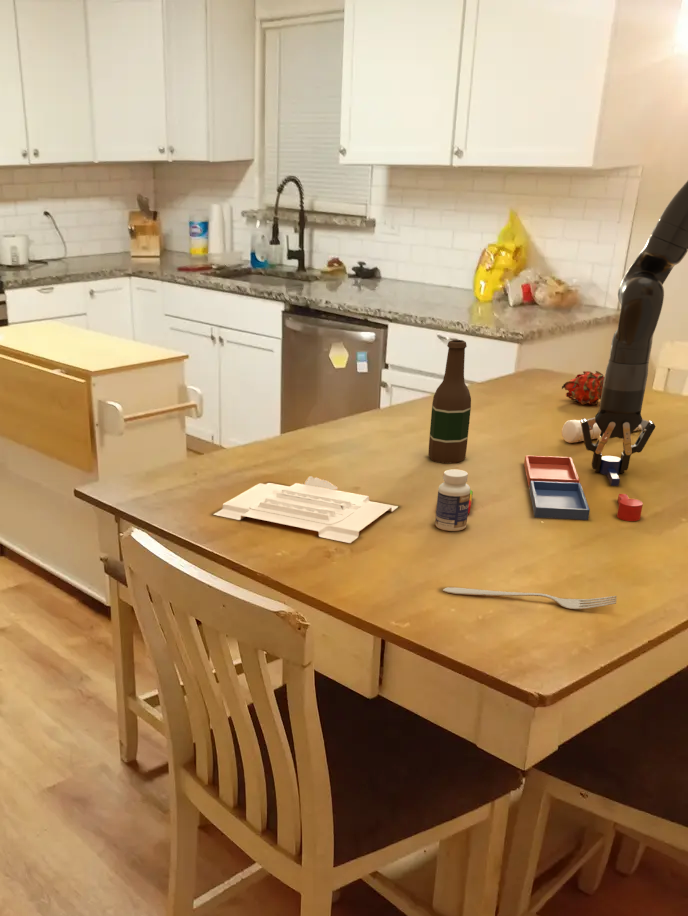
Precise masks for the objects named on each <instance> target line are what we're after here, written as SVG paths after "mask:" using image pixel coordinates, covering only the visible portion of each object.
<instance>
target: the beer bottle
mask: <svg viewBox="0 0 688 916" xmlns="http://www.w3.org/2000/svg"><path fill="white" fill-rule="evenodd" d="M446 347H447V348H448V350H447V356H446V364H445V370H444V375H443V379H442V382H441V383H440V384H439V386H438V387H437V388H436V390H435V392H434V393H433V398H432V403H431V414H430V415H431V416H430V427H429V437H428V438H429V439H428V457H429V458H430V460H431V461H432V462H436V463H440V464H457V463H460V462H462V461H464V460H466V455H467V448H468V441H469V431H470V430H469V429H470V419H471V409H472V396H471V393H470V389H469V387H468V386H467V384H466V382H465V381H466V380H465V359H466V358H465V354H466V348H467V347H468V345H467V342H466V341H465V340H463V339H452V340H449V341H448V343H447V345H446Z"/></svg>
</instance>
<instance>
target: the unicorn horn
mask: <svg viewBox="0 0 688 916" xmlns="http://www.w3.org/2000/svg"><path fill="white" fill-rule="evenodd" d="M580 421H581V419H569V420H566V422H565V423H564V424H563V425H562V428H561V437H562V439H563V440H564V441H565V442H566V443H569V444H573V443H578V442H584V438H583V433H582V428H581V423H580ZM640 428H641V425H639V426H638V427H637V428H636V429H635V430H634V431H633V432H636V431H641V429H640ZM600 432H601V430H600V429H599V427H598V425H597V423H595V424H594V425H593V429H592V430H590V435H591V440H595V439H598V436H599V434H600Z"/></svg>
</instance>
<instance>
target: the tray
mask: <svg viewBox="0 0 688 916" xmlns="http://www.w3.org/2000/svg"><path fill="white" fill-rule="evenodd" d="M398 507H399V506H398V505H392V504H388V503H382V502H376V501H371V500H370V496H369V495H366V494H365V495H364V494H360V493H355V492H354V493H353V492H349V491H343V490H338V486H337V485H336V484H333V483H332V482H330V481H328V480H326V479H321V478H319V477H315V476H312V475H309V476H308V477H307V479H305V482H302V483H299V482H295V483H293V484H292V485H290V486H289V485H283V484H277V483H272V482H267V483H262V482H261V483H260V482H259V483H257V484H256V485H254V486H251V487H250V488H249V489H247V490H245V491H243V492H242V493H241V492H240V494H238V495H236V496H234V497H233V498H231V499H229V500H227V501H225V502H224V503H222V508H221V509H220V510H218V511H216V512H215V513H213V514H212V515H213V516H218V517H224V518H227V519H233V520H237V521H241V520H243V519H244V518H246V517H247V518H252V519H256V520H262V521H267V522H271V523H276V524H280V525H284V526H285V525H286V526H290V527H296V528H300V529H305V530H308V531H309V530H310V531H314V532H318V537H319V538H324V539H327V540H332V541H333V540H334V541H338V542H343V543H346V544H347V543H348V544H351V543H352V542H354V541H355V540H357V539H358V538H359V536H360V531H362V530H363V529H365V528H366V527H368V525H370V524H372V522H374V521H375V520H377V519H378V518H379V517H380V516H382V515H383V514H385V513H386V512H394V511H395V510H396V509H398Z"/></svg>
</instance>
